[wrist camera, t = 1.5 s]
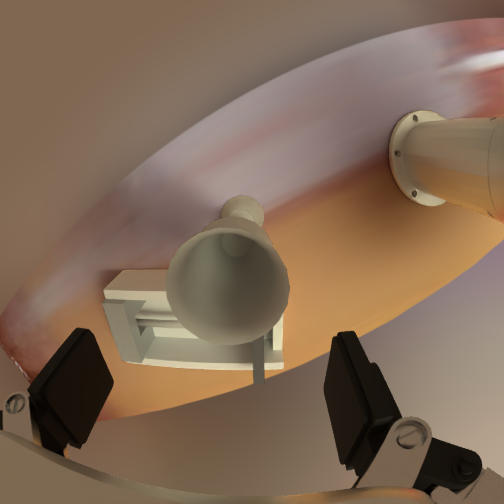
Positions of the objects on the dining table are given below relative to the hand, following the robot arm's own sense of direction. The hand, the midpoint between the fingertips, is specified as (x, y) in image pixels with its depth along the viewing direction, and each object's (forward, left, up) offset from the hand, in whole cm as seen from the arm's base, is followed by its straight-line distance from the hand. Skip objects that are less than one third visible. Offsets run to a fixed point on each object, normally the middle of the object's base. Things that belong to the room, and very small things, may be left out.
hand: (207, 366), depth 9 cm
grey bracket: (+6, +12, -24) cm, 27 cm away
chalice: (0, 0, -24) cm, 24 cm away
